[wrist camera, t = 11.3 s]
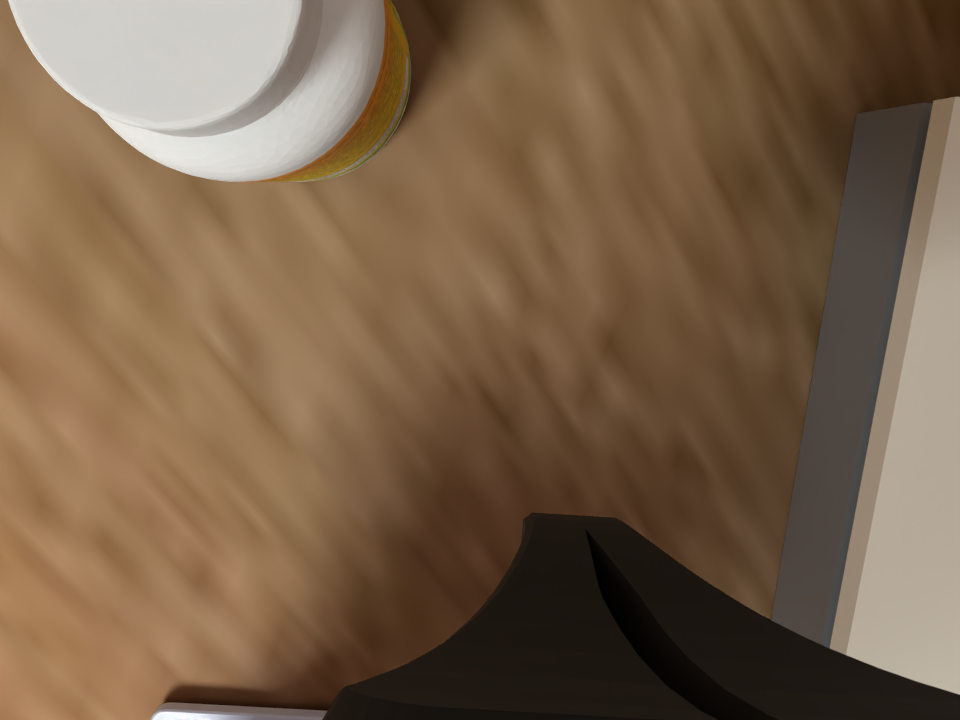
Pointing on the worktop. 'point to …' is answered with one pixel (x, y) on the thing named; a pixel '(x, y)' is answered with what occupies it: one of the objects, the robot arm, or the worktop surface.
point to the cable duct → (849, 364)
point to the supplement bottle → (232, 79)
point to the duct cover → (915, 450)
